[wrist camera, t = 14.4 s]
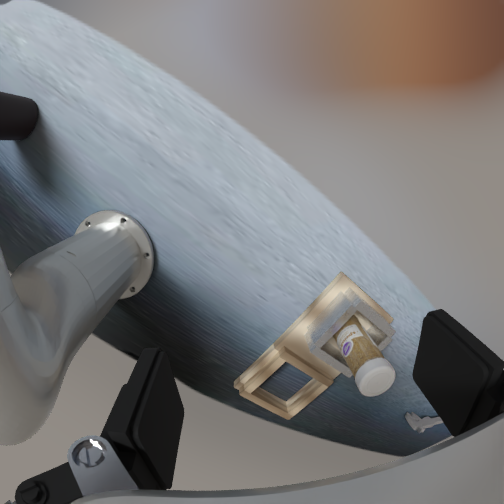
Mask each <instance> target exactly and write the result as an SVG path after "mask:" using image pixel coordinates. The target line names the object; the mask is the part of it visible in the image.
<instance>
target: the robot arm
mask: <svg viewBox="0 0 504 504" xmlns="http://www.w3.org/2000/svg"><path fill="white" fill-rule="evenodd" d="M124 218H125V219H126V222H125V221H124ZM89 222H90V223H91V224H90V223H89ZM147 253H149V255H147ZM153 266H154V251H153V247H152V243H151V241H150V238H149V236H148V234H147V233H146V231H145V230H144V228H143V227H142V226H141V225H140V224H139V222H138V221H137V220H135V219H134V218H132V217H131V216H130V215H128V214H125V213H123V212H120V211H116V210H104V211H99V212H97V213H94V214H92V215H90V216H89V217H87V218H86V219H85V220H84V221H83V222H82V223H81V224H80V225H79V227H78V228H77V230H76V233H75V235H74V236H72V237H70V238H68V239H66V240H64V241H62V242H60V243H58V244H56V245H54V246H52V247H49V248H47V249H46V250H44V251H42V252H40V253H39V254H37V255H34V256H33V257H31V258H29V259H27V260H26V261H24V262H23V263H22V264H21V265H20V266H19V267H18V268H17V269H16V270H15V271H14V272H13V274H12V275H11V277H10V274H9V271H8V268H7V266H6V263H5V260H4V257H3V253H2V250H1V247H0V445H16V444H19V443H22V442H24V441H26V440H28V439H29V438H31V437H32V436H33V435H34V434H36V433H37V432H38V431H39V430H40V428H41V427H42V426H43V425H44V423H45V422H46V420H47V419H48V417H49V415H50V413H51V411H52V409H53V407H54V405H55V402H56V399H57V397H58V394H59V391H60V388H61V385H62V382H63V379H64V376H65V374H66V371H67V369H68V367H69V365H70V363H71V361H72V359H73V358H74V356H75V355H76V353H77V352H78V350H79V349H80V347H81V346H82V345H83V343H84V342H85V341H86V339H87V338H88V337H89V335H90V334H91V333H92V332H93V330H94V329H95V328H96V327H97V325H98V324H99V323H100V322H101V320H102V319H103V318H104V317H105V315H106V314H107V313H108V312H109V310H110V309H111V308H112V307H113V306H114V304H115V303H116V302H117V301H118V299H125V298H128V297H131V296H133V295H135V294H137V293H138V292H139V291H140V290H141V289H142V288H143V287H144V286H145V285H146V283H147V282H148V280H149V278H150V277H151V274H152V271H153ZM133 287H134V288H135V289H134V288H133ZM503 368H504V361H503V360H501V359H500V358H499V357H498V356H497V355H496V354H495V353H494V352H493V351H491V350H490V349H489V348H488V347H487V346H486V345H485V344H483V343H482V342H481V341H480V340H479V339H477V338H476V337H475V336H474V335H473V334H472V333H471V332H469V331H468V330H467V329H466V328H465V327H464V326H462V325H461V324H460V323H459V322H458V321H456V320H455V319H454V318H453V317H451V316H450V315H449V314H448V313H447V312H445V311H444V310H442V309H439V310H435V311H431V312H428V314H427V315H426V317H424V320H423V325H422V330H421V336H420V341H419V346H418V351H417V356H416V361H415V365H414V369H413V379H414V381H415V383H416V384H417V386H418V387H419V388H420V390H421V391H422V393H423V394H424V395H425V397H426V398H427V400H428V401H429V402H430V404H431V405H432V407H433V408H434V409H435V411H436V412H437V414H438V415H439V417H440V418H441V420H442V421H443V422H444V424H445V425H446V427H447V428H448V430H449V431H450V433H451V434H452V435H453V436H454V438H452V439H450V440H447V441H445V442H443V443H440V444H438V445H436V446H433V447H431V448H428V449H426V450H423V451H420V452H418V453H415V454H412V455H410V456H407V457H404V458H401V459H398V460H395V461H392V462H389V463H386V464H383V465H379V466H376V467H372V468H369V469H365V470H362V471H357V472H354V473H349V474H346V475H341V476H337V477H332V478H327V479H322V480H317V481H311V482H306V483H299V484H292V485H285V486H277V487H268V488H257V489H243V490H221V491H181V490H166V489H170V488H171V487H172V481H173V475H174V469H175V463H176V458H177V452H178V445H179V440H180V435H181V429H182V424H183V418H184V408H183V404H182V401H181V398H180V395H179V392H178V389H177V385H176V382H175V379H174V376H173V372H172V369H171V365H170V362H169V358H168V355H167V353H166V352H162V350H161V349H160V348H144V349H143V350H142V352H141V355H140V357H139V359H138V361H137V363H136V365H135V367H134V370H133V372H132V374H131V376H130V379H129V381H128V383H127V384H125V385H123V387H122V388H121V391H120V393H119V395H118V397H117V399H116V401H115V404H114V406H113V408H112V410H111V413H110V415H109V417H108V419H107V422H106V424H105V426H104V428H103V431H102V433H101V435H100V437H99V436H86V437H82V438H80V439H78V440H77V441H75V442H74V443H73V444H72V445H71V447H70V448H69V450H68V455H67V457H68V462H67V463H65V464H62V465H60V466H58V467H56V468H53V469H51V470H49V471H46V472H44V473H42V474H40V475H37V476H35V477H32V478H30V479H27V480H25V481H24V482H22V483H21V484H20V485H19V486H18V488H17V490H16V493H15V500H16V501H14V502H13V503H12V502H11V501H10V500H9V501H7V502H6V503H5V504H504V370H503Z"/></svg>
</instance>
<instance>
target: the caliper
mask: <svg viewBox="0 0 504 504" xmlns="http://www.w3.org/2000/svg"><path fill="white" fill-rule="evenodd" d="M405 418H406V420H407V421H408V423H409V425H410V426H411V427H412V428H413V429H414V430H417V432H418V433H420V432H422V433H423V432H424V430H425V428H429V427H432V426H433V425H435V424H440V423H444V422H443V421H442V420H441V418H440V417H435V418H430V417H429V416H427V417H424V418H423V419H421V418H420V417H418V416H417V415H416V414H415V413H414V412H411V414H409V413H408V412H407V413H406V414H405Z"/></svg>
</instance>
